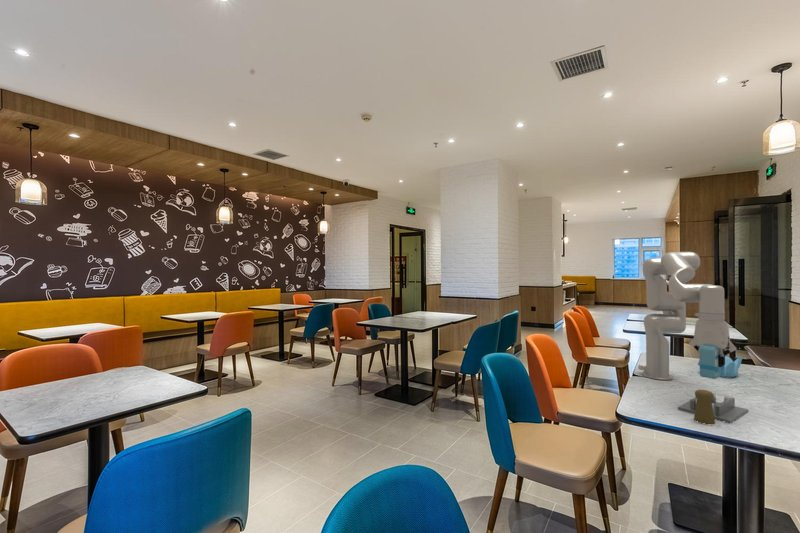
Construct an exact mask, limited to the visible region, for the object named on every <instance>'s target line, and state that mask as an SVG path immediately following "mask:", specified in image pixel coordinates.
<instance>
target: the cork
mask: <svg viewBox="0 0 800 533" xmlns="http://www.w3.org/2000/svg"><path fill="white" fill-rule="evenodd" d="M711 392H712V391H709V390H706V389H696V390H695V392H694V398H695V397H696V398H697V402H696V408H695V414H694V415H693V420H694V421H695V420H696V421H698V422H697V423H699V422H701V423H700V424H702V423H705V424H704V425H708V424H714V425H715V424H716V420H715V419H714V413H713V407H712V400H713V394H712V393H711ZM696 421H695V422H696Z"/></svg>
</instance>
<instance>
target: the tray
mask: <svg viewBox="0 0 800 533" xmlns="http://www.w3.org/2000/svg"><path fill="white" fill-rule="evenodd" d="M710 392H711V393H712V394H713V400H712V407H713V413H714V419H716V420H715V421H719V420H720V421H719V422H723V421H725V422H724V423H726V422H728V423H727V424H730V423H731V424H732V423H734V422H736V419H737V420H738V419H740V418H742V417H743V416H744V415H746V414H747V413H749V409H748V408H745V407H740V406H736V403H735V399H736V398H735V397H729V396H730V395H728V394H723V401H722V402H718V401H717V393H716V392H715V391H710ZM696 402H697V398H696V397H695V396H694V397H693V398H691V399H690V400H689V401H687V402H684V403H683V404H681V405H679V406H677V410H678V411H682V412H686V413H689V414H692V415H693V414H694V415H695V408H696ZM739 417H740V418H739ZM733 421H734V422H733Z"/></svg>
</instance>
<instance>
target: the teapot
mask: <svg viewBox="0 0 800 533" xmlns="http://www.w3.org/2000/svg"><path fill="white" fill-rule="evenodd" d="M742 360H743V358H739V357H737V358H735V360H733V359H732V358H731V357H729V356H727V355H726V356H725V365H724V375H722V376H720V377H719V378H727V377H728V378H729V379H730V378H735V377H736V376H738V374H739V369H740V367H741V364H742ZM697 366H699V367H700V358H699V360H698V362H697Z"/></svg>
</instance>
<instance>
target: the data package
mask: <svg viewBox="0 0 800 533" xmlns="http://www.w3.org/2000/svg"><path fill="white" fill-rule="evenodd" d="M719 355H720V354H719V351H718V349H717V347H716V346H710V345H701V346H700V353H699V359H700V366H699V376H700V377H702V378H707V379H712V380H716V379H719V378H721V377H720V376H722V375H724V365H723V366H722V367H719V366H718V356H719Z"/></svg>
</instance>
